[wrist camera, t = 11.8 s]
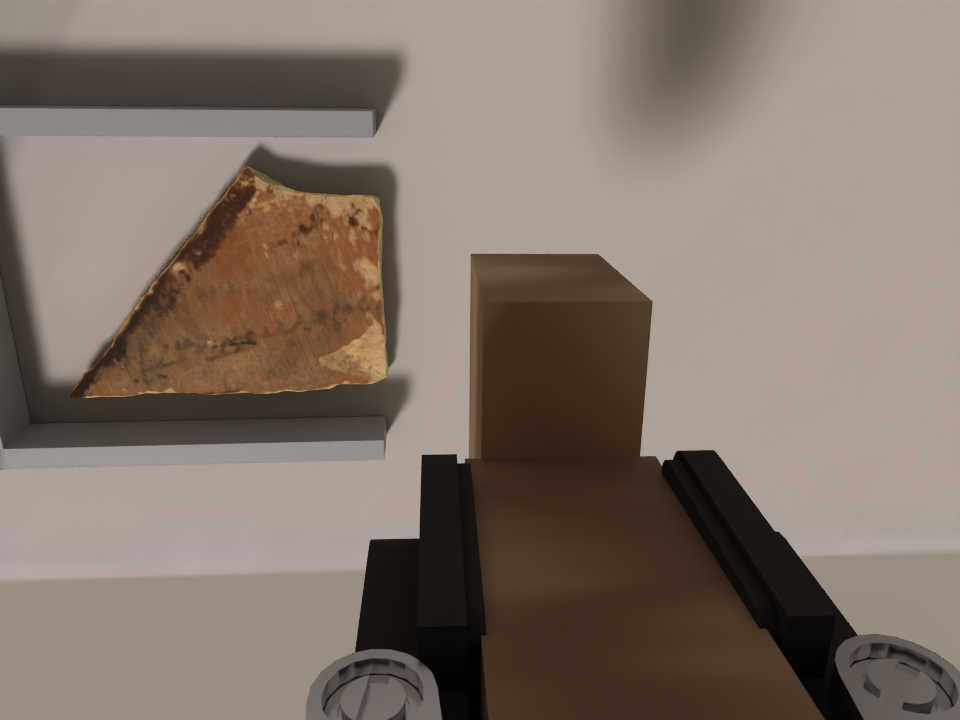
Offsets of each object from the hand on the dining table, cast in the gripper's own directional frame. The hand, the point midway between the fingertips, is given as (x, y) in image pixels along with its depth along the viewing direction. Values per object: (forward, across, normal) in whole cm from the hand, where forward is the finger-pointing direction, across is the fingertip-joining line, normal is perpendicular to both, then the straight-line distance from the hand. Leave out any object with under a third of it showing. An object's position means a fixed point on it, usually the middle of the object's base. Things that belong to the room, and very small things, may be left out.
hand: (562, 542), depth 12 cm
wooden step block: (+5, 0, +1) cm, 5 cm away
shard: (+17, +8, +2) cm, 18 cm away
